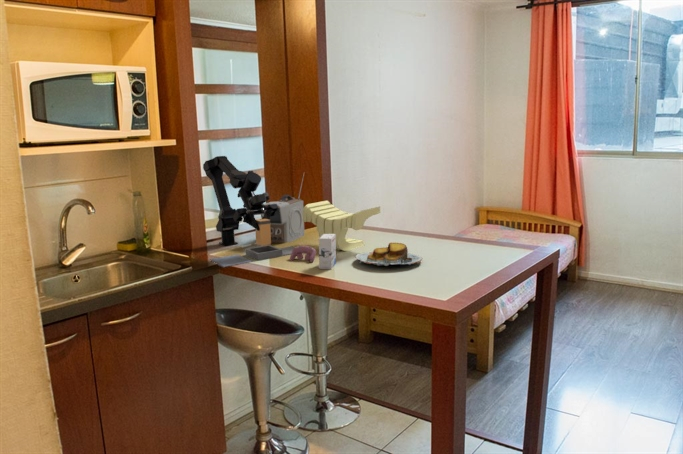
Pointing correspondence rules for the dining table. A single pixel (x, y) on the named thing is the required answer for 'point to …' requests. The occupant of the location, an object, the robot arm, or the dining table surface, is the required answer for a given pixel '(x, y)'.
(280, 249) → the case
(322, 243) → the ink box
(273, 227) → the portable television
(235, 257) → the mat
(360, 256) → the food on plate
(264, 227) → the block
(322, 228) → the slatted curved stool
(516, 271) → the dining table surface
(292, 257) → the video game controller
